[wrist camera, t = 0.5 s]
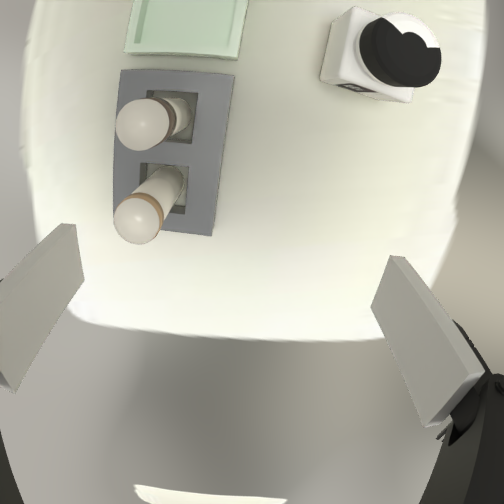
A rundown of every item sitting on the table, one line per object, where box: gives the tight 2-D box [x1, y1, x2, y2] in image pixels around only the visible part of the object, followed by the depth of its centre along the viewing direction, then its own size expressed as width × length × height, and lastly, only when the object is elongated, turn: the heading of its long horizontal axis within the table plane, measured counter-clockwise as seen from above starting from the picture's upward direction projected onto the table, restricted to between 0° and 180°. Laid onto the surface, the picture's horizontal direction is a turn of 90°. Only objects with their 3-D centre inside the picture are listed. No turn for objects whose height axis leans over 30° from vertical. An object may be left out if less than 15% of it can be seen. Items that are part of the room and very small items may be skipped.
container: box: [320, 6, 441, 103], centre depth 22 cm, size 8×8×13 cm
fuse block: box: [113, 70, 235, 236], centre depth 32 cm, size 18×12×2 cm, turn 171°
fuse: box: [114, 166, 184, 244], centre depth 29 cm, size 4×4×12 cm
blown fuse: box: [116, 97, 192, 151], centre depth 26 cm, size 4×4×12 cm
